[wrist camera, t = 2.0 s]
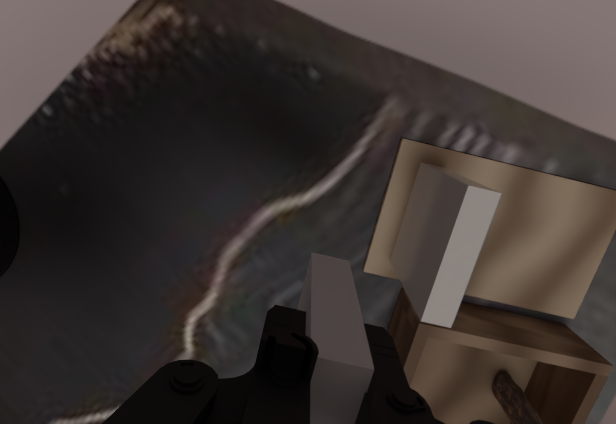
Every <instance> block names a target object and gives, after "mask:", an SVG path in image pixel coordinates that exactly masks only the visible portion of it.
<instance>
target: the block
mask: <svg viewBox="0 0 616 424" xmlns="http://www.w3.org/2000/svg"><path fill="white" fill-rule="evenodd" d="M500 198H501V193H500V192H498V191H495V190H493V189H491V188H489V187H486V186H484V185H482V184H480V183H477V182H475V181H473V180H470V179H468V178H466V177H464V176H461V175H459V174H457V173H455V172H452V171H450V170H448V169H446V168H443V167H439V166H435V165H430V164H426V163H422V162H421V163H420V167H419V170H418V173H417V176H416V179H415V182H414V186H413V189H412V192H411V195H410V198H409V202H408V205H407V208H406V211H405V214H404V218H403V221H402V224H401V227H400V230H399V233H398V237H397V240H396V243H395V246H394V249H393V253H392V256H391V259H390V263H391V265H392V267H393V268H394V270H395V272H396V274H397V276H398V278H399V280H400V282H401V284H402V286H403V288H404V290H405V292H406V294H407V296H408V298H409V299H410V301H411V303H412V305H413V307H414V309H415V311H416V313H417V315H418V317H419V319H420V321H422V322H426V323H431V324H435V325H440V326H444V327H449V328H451V326H452V324H453V323H454V320H455V318H456V315H457V312H458V310H459V307H460V304H461V302H462V299H463V296H464V294H465V291H466V288H467V286H468V283H469V280H470V278H471V275H472V272H473V270H474V267H475V264H476V262H477V259H478V257H479V254H480V251H481V249H482V246H483V243H484V241H485V238H486V235H487V233H488V230H489V227H490V225H491V222H492V219H493V217H494V214H495V211H496V209H497V206H498V203H499V201H500Z"/></svg>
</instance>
